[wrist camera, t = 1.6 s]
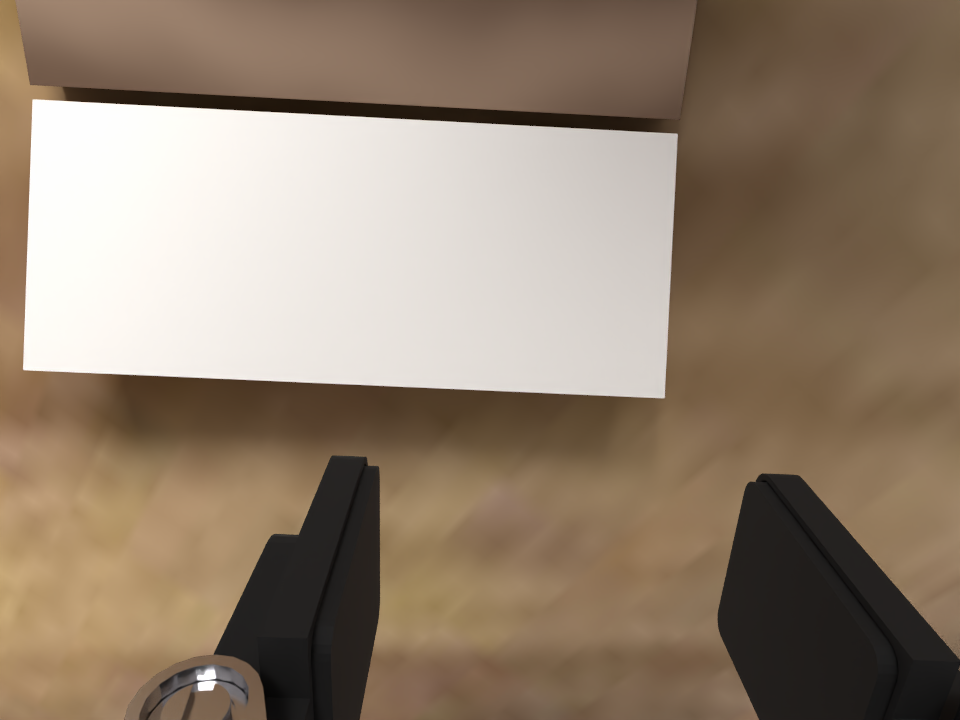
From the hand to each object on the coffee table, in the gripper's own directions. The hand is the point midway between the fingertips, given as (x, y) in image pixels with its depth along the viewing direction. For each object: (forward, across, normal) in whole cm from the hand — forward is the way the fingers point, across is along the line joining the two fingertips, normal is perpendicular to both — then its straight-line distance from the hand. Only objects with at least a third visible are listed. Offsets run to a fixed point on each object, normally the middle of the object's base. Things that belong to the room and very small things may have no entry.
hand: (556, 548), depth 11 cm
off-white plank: (+18, +6, -1) cm, 19 cm away
